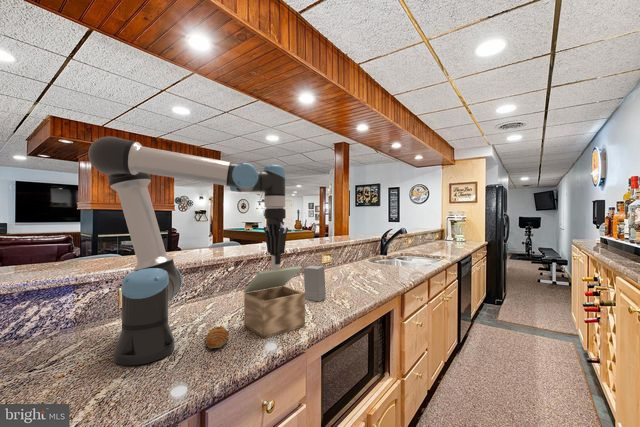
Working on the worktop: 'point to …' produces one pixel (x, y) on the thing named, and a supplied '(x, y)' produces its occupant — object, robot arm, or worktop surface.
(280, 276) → the lid
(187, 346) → the worktop surface
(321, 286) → the skincare box
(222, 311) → the worktop surface
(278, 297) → the box
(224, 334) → the pastry
